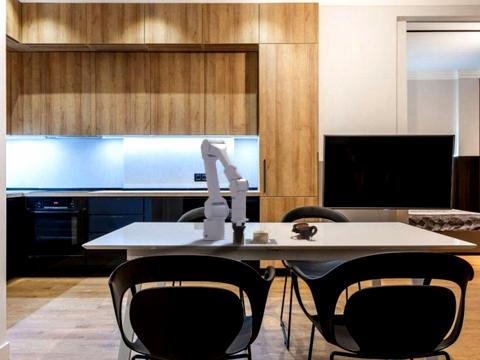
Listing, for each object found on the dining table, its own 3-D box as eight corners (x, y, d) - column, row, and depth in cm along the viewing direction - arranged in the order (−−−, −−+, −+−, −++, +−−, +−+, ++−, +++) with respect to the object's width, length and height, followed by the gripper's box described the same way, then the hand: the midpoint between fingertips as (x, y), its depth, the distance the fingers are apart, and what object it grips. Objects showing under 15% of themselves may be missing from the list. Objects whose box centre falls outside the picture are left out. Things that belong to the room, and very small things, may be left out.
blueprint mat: (245, 245, 169) (245, 243, 169) (244, 240, 182) (244, 238, 182) (277, 245, 169) (277, 244, 169) (274, 240, 182) (274, 238, 182)
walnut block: (232, 245, 168) (233, 233, 168) (232, 243, 172) (233, 231, 172) (244, 245, 168) (244, 233, 168) (243, 243, 172) (243, 231, 172)
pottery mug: (290, 241, 183) (288, 223, 187) (296, 247, 191) (294, 230, 195) (316, 235, 179) (314, 218, 183) (322, 242, 187) (319, 225, 191)
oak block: (253, 242, 173) (254, 232, 173) (253, 239, 179) (253, 230, 179) (268, 242, 173) (268, 232, 173) (267, 239, 179) (267, 230, 179)
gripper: (249, 209, 163) (248, 244, 163) (247, 206, 177) (247, 238, 177) (231, 209, 162) (230, 244, 163) (231, 206, 177) (231, 238, 177)
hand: (238, 241), depth 170 cm, fingers open, 7 cm apart
